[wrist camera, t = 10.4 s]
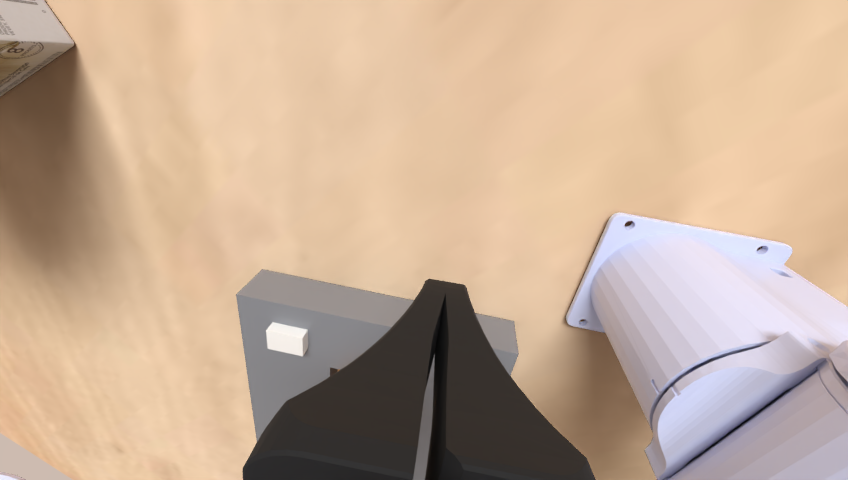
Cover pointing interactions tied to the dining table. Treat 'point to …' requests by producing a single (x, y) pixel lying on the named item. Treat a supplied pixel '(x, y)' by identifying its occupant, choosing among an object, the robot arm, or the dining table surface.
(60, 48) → the coffee box
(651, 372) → the robot arm
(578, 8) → the dining table surface
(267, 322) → the socket plate
